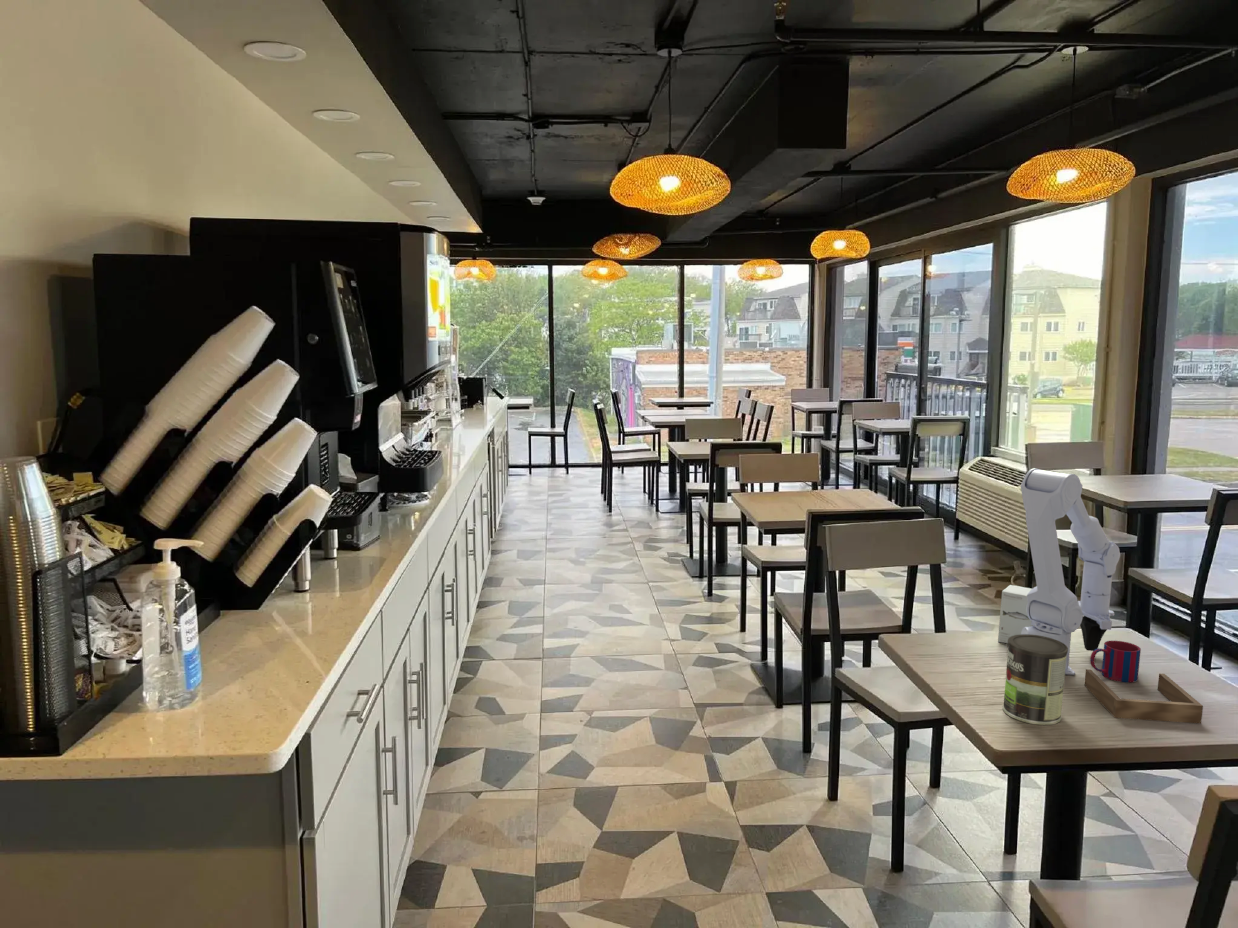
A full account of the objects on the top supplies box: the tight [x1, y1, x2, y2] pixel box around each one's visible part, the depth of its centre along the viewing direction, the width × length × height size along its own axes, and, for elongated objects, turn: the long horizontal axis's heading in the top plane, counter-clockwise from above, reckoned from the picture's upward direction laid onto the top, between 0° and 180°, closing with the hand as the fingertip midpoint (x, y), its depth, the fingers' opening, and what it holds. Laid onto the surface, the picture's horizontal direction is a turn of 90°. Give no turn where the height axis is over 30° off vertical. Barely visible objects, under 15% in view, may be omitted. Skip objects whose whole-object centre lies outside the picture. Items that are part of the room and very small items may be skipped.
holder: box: [1084, 668, 1204, 724], centre depth 170 cm, size 15×16×4 cm
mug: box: [1089, 640, 1142, 684], centre depth 183 cm, size 7×10×7 cm
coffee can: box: [1002, 634, 1068, 726], centre depth 164 cm, size 10×10×14 cm
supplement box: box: [997, 584, 1033, 644], centre depth 203 cm, size 7×7×13 cm
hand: (1090, 649), depth 195 cm, fingers closed
